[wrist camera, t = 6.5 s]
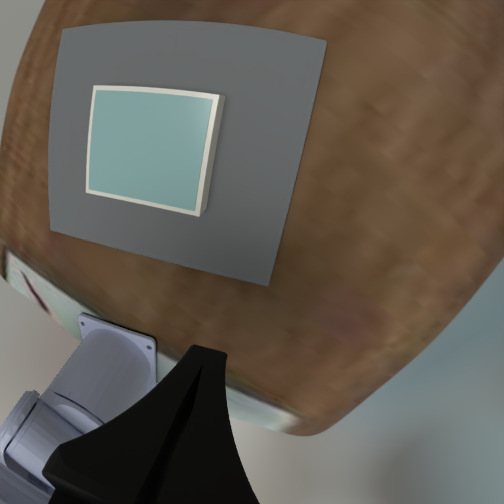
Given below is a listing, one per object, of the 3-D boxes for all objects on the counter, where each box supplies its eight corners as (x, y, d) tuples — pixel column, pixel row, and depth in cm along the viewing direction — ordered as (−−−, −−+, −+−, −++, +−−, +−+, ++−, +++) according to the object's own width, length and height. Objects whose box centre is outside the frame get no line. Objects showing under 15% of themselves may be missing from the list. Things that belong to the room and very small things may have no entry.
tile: (198, 217, 18) (85, 193, 18) (206, 208, 19) (98, 186, 20) (218, 94, 15) (92, 85, 15) (225, 95, 16) (107, 85, 17)
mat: (268, 282, 22) (268, 286, 21) (54, 227, 22) (50, 230, 22) (326, 42, 15) (327, 41, 14) (67, 29, 15) (62, 29, 15)
